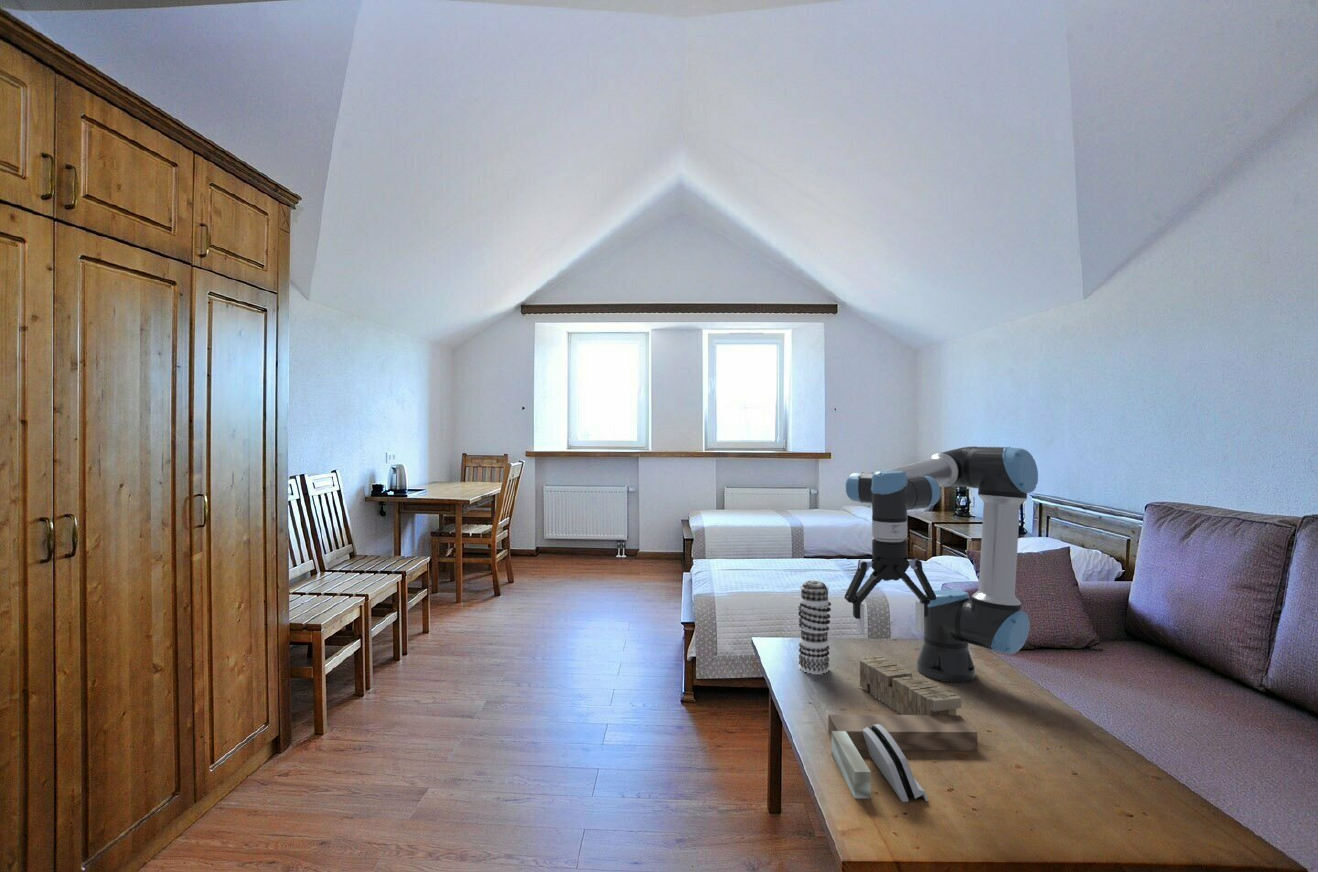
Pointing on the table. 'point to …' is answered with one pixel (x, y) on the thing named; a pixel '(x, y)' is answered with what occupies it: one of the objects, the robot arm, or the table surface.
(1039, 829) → the table surface
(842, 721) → the board
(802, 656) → the decorative candle
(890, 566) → the robot arm
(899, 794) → the grey arched slotted casing
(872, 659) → the block tower
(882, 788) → the table surface
